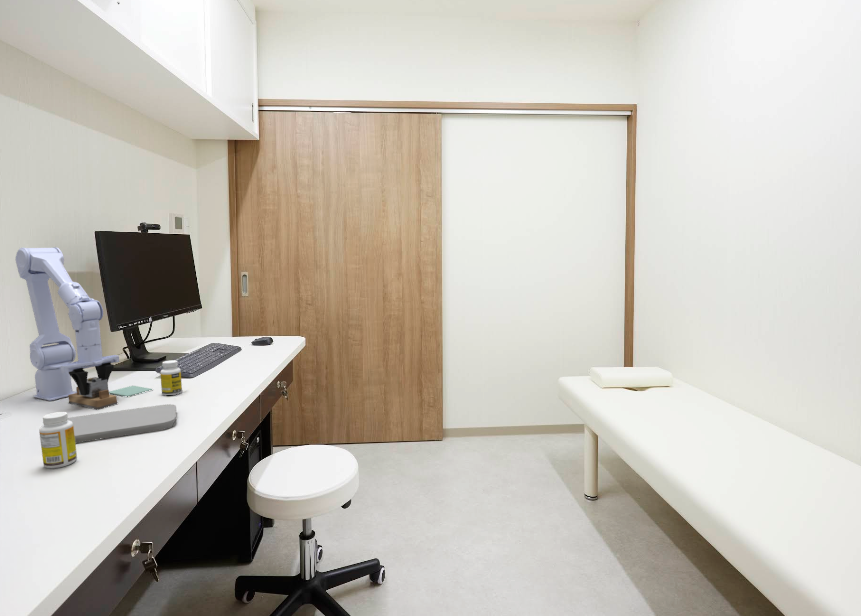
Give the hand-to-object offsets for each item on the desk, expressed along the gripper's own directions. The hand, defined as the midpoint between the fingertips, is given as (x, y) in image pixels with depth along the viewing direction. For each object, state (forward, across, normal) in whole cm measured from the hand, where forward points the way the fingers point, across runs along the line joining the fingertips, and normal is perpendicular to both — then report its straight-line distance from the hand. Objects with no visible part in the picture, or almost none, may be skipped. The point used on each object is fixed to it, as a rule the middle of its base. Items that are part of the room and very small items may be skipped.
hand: (93, 392), depth 144 cm
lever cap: (0, 0, 0) cm, 0 cm away
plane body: (+3, 0, +1) cm, 4 cm away
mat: (+3, +12, +3) cm, 13 cm away
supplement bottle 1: (+3, -27, -36) cm, 45 cm away
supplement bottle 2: (+4, +16, -11) cm, 20 cm away
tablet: (+4, -9, -25) cm, 27 cm away
